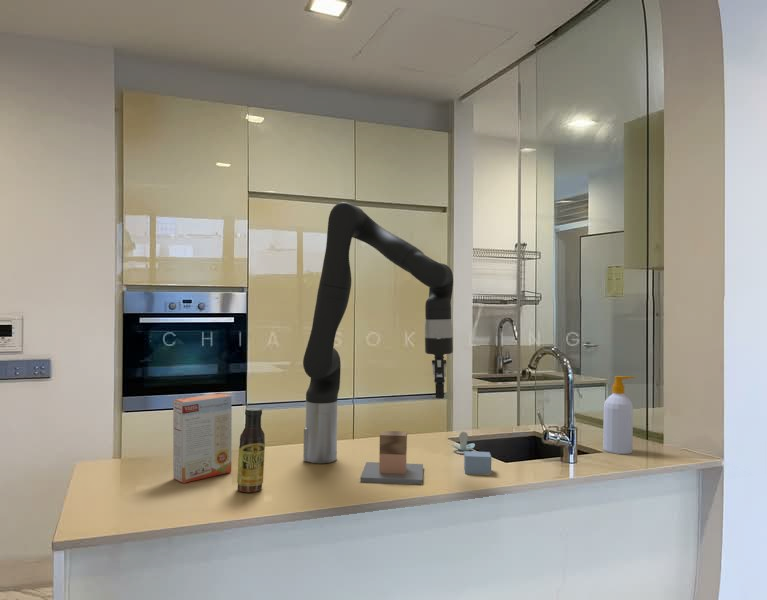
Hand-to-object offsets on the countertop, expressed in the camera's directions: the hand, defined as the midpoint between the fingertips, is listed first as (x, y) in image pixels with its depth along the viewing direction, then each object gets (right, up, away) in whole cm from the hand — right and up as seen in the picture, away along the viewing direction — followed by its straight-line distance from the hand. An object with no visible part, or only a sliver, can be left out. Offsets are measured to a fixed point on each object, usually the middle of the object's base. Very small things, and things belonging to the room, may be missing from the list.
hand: (439, 395), depth 153 cm
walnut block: (-13, -15, -1) cm, 20 cm away
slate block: (+11, -22, +3) cm, 24 cm away
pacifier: (+10, -22, +23) cm, 33 cm away
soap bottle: (+60, -22, +27) cm, 69 cm away
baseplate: (-13, -21, -1) cm, 25 cm away
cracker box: (-63, -21, -4) cm, 67 cm away
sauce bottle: (-48, -21, -15) cm, 54 cm away
